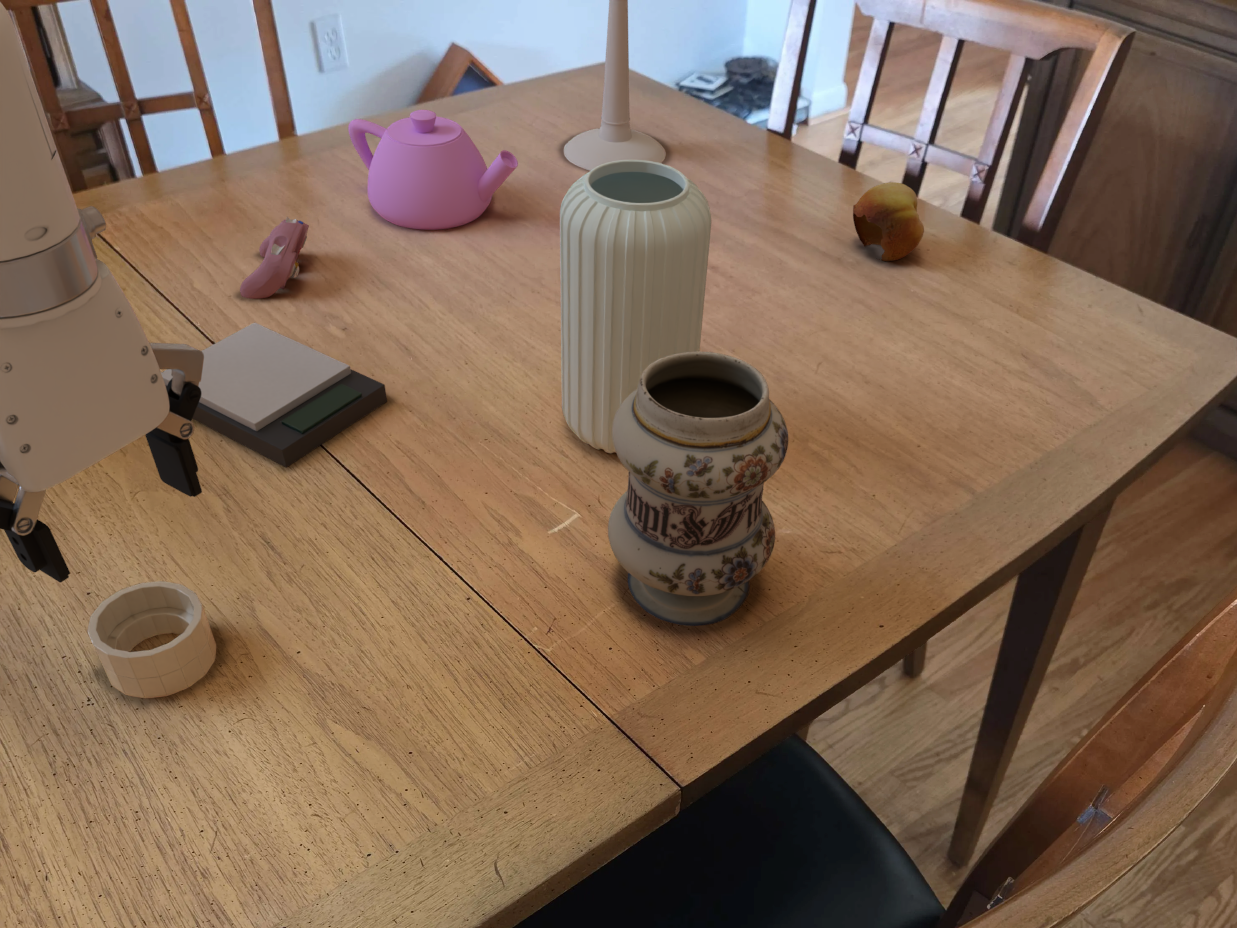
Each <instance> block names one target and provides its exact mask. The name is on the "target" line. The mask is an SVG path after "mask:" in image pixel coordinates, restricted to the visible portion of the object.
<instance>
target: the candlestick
mask: <svg viewBox="0 0 1237 928" xmlns="http://www.w3.org/2000/svg"><path fill="white" fill-rule="evenodd" d="M607 13H608V15H607V29H606V44H605V45H606V46H605V61H604V76H603V92H602V105H601V116H600V120H601V121H600V127H597V128H593V129H589V130H585V131H582V132H581V133H578V134H577V135H575V136H574V137H572V138H571V139H570V140H568V141H567V142H566V143H565V145H564V147H563V155H564V157H565V158H566V160H568V161H569V162H570V164H573V165H575V166H577V167H579V168H581V169H584V170H586V171H589V172H590V171H591V170H592V169H594V168H595V167H597V166H599V165H602V164H605V163H608V162H612V161H619V160H646V161H653V162H658V163H662V164H663V162H664V161H665V159H666V157H667V153H666V149H665V148H664V147H663V146H662V144H661V143H660V142H659V141H658V140H656V139H655V138H653V137H652V136H650V135H648V134H646V133H644V132H641V131H639V130H635V129H632V128H631V122H630V121H631V117H630V112H631V111H630V63H629V62H630V55H629V54H630V53H629V0H608V12H607Z"/></svg>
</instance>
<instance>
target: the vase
mask: <svg viewBox="0 0 1237 928" xmlns="http://www.w3.org/2000/svg"><path fill="white" fill-rule="evenodd" d="M559 207H560V208H559V269H560V270H559V271H560V272H559V275H560V281H559V284H560V285H559V286H560V287H559V288H560V362H561V363H560V365H561V366H560V370H561V371H560V372H561V374H560V375H561V377H560V378H561V379H560V380H561V382H560V383H561V411H562V415H563V418H564V420H565V422H566V424H567V426H568V428H569V429H570V430H571V432H572V433H573V434H574V435H576V436H577V438H578V439H579V440H580V441H582V442H583V443H585V444H587V445H590V447H592V448H594V449H596V450H598V451H599V450H603V451H604V452H605V453H606V454H613V453H616V451H615V448H614V444H613V439H612V425H613V420H614V417H615V415H616V412H617V410H618V409H619V407H620V405H621V404H622V403H623V401H624V400H625V399H626V398H627V397H628V396H629V395H630V394H631V393H633V392H634V391H635V390H636V389H638V384H639V380H640V377H641V375H642V373H643V371H644V370H645V369H646V368H647V367H648V366H649V365H650V364H652V363H653V362H655V361H657V360H659V359H661V358H664V357H666V356H670V355H674V354H679V353H685V352H701V351H700V350H701V341H702V340H701V339H702V328H703V320H704V319H703V318H704V306H705V296H706V285H707V274H708V264H709V254H710V243H711V232H712V212H711V208H710V207H711V206H710V204H709V201H708V199H707V198H706V196H705V195H704V193H703V191H701V190H700V187H698V185H697V184H695V182H693V180H691V179H689V178H687V176H686V175H685V174H684V173H683V172H682V171H680V170H678V169H677V168H675V167H673V166H670V165H669V164H665V163H663V162H662V163H658V162H653V161H646V160H619V161H612V162H608V163H605V164H602V165H599V166H597V167H595V168H594V169H592V170H591V171H590V170H589V172H586V173H584V174H583V175H582V176H581V177H580V178H578V179H577V180H576V181H575V182H573V183H572V184H571V186H570V187H569V188H568V190H567V191H566V194H565V195H564V196H563V199H562V201H561V203H560V206H559ZM616 454H617V453H616Z"/></svg>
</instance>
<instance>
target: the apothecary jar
mask: <svg viewBox="0 0 1237 928" xmlns="http://www.w3.org/2000/svg"><path fill="white" fill-rule="evenodd" d="M788 431H789V430H788V426H787V424H786V421H785V419H784V417H783V414H782V412H781V411H780V410H779V408H778V407H777V406H776V405H775V403H774V402H773V401H772V400H771V399H770V389H769V384H768V381H767V380H766V377H765V376H764V375H763V374H762V373H761V371H760V370H758V368H756V367H755V366H753V365H752V364H750V363H748V362H746V361H745V360H742V359H740V358H737V357H735V356H732V355H729V354H725V353H720V352H713V351H700V352H685V353H679V354H674V355H670V356H666V357H664V358H661V359H659V360H657V361H655V362H653V363H652V364H650V365H649V366H648V367H647V368H646V369H645V370H644V371H643V373H642V375H641V377H640V380H639V384H638V389H636V390H635V391H634V392H633V393H631V394H630V395H629V396H628V397H627V398H626V399H625V400H624V401H623V403H622V404H621V405H620V407H619V409H618V410H617V412H616V415H615V417H614V420H613V425H612V439H613V444H614V448H615V451H616V456H617V458H618V460H619V462H620V463H621V464H622V466H623V467H624V468H625V470H627V471H628V475H627V490H626V491H624V493H622V495H620V497H619V498H618V499H617V500H616V502H615V504H614V506H613V508H612V509H611V512H610V514H609V517H608V521H607V522H608V524H607V538H608V542H609V545H610V549H611V551H612V553H613V555H614V557H615V560H617V562H618V563H619V564H620V566H621V567H622V568H623V569H624V570H625V571H626V572H627V586H628V589H629V593H630V594H631V596H632V598H633V600H634V601H635V602H636V604H638V605H639V607H640V608H642V609H643V610H644V611H645V612H646V613H648V614H649V615H651V616H653V617H655V618H656V619H658V620H661V621H664V622H667V623H670V624H674V625H680V626H685V627H686V626H687V627H700V626H708V625H713V624H716V623H719V622H722V621H724V620H726V619H728V618H729V617H731V616H732V615H734V614H735V613H736V612H737V611H739V609H741V607H742V606H744V603H745V602H746V601H747V599H748V597H749V594H750V590H751V582H750V581H751V580H752V579H753V578H754V577H756V576H757V575H758V574H759V573H760V572H761V571H762V570H763V569H764V567H765V566H766V565H767V564H768V562H769V560H770V558H771V556H772V554H773V550H774V547H775V543H776V528H775V523H774V519H773V517H772V514H771V512H770V509H769V508H768V506H767V505H766V503H765V502H764V500H763V495H764V494H763V493H764V484H765V483H766V482H767V481H768V480H770V478H772V476H774V475H775V474H776V473H777V471H778V470H779V469H780V467H781V466H782V464H783V462H784V460H785V458H786V456H787V453H788V448H789V432H788Z"/></svg>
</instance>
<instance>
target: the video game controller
mask: <svg viewBox="0 0 1237 928" xmlns="http://www.w3.org/2000/svg"><path fill="white" fill-rule="evenodd" d="M309 227H310V224H308V223H305V222H304V221H302V220H298V219H297V218H295V219H291V218H290V217H289V216H286V218H285V219H283V220H282V221H281V222H280V223H279V224H278V225H276V226H275V227H274V228H273V229H272V230H271V231H270V233H269V235H268V236H267V237H266V238H264V239H263V241H262V242H261V244H260V246H259V254H260V257H262V258H263V260H262V261H261V263H260V264H259V266H258V267H256V269H254V270H253V272H252V273H250V274H249V275H248V276H246V277H245V278H244V279H243V280H242V283H241V284H240V287H239V291H240V292H239V293H240V296H241V297H242V298H246V299H252V300H253V299H255V300H257V299H268V298H270V297H271V296H273V295H274V294H275V293H276V292H278V290H279V289H282V290H284V289H285V288H286V287H285V286H286V284H287V282H288V281H289V279H290V278H291V277H292V276H293V279H295V278H296V277H298V276H299V273H300V266H299V263H298V261H297V260H298V257H299V255H300V252H301V250H302V249H304V246H305V244H306V241H307V239H308V236H307V234H308V231H309Z"/></svg>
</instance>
